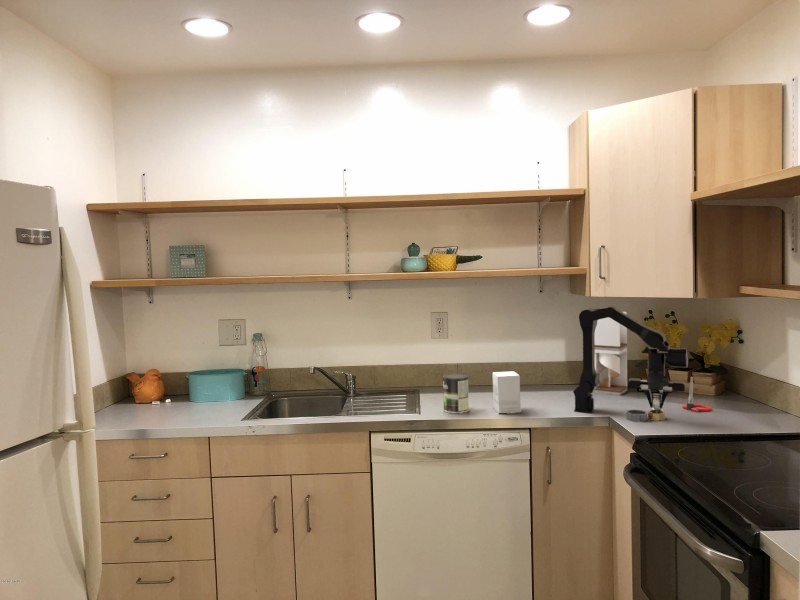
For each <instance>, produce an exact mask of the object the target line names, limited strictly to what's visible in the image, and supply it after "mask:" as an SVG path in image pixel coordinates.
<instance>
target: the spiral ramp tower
mask: <svg viewBox="0 0 800 600" xmlns="http://www.w3.org/2000/svg"><path fill="white" fill-rule="evenodd" d="M622 312H623V313H624V314H626V315H628V312H627V311H622ZM594 335H595V370H596V373H600V377H599V380H600V383H599V384H598V387H597V388H596V389H595V390H593V393H594V392H595V393H596V394H602V393H603V394H604V395H614V396H621V395H623V394H625V393H626V392H627V391H628V328H626V327H624V326H623V325H621V324H619V323H618V322H616V321H614V320H613V319H611V318H609V317H608V318H603V319H599V320H598V321H597V326H596V329H595V333H594Z"/></svg>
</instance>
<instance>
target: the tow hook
mask: <svg viewBox="0 0 800 600" xmlns="http://www.w3.org/2000/svg"><path fill="white" fill-rule="evenodd" d="M693 380H694V376H690V381H689V391H688V394H689V395H688V402H687V403H686V404H682V409H685V410H688V411H690V410H691V412H695V413H699V412H711V411H712V407H711V406H708V405H704V404H695V403H694V397H693V395H694V394H693V393H694V381H693ZM702 407H703V408H702Z"/></svg>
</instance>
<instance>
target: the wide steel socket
mask: <svg viewBox="0 0 800 600" xmlns="http://www.w3.org/2000/svg"><path fill="white" fill-rule="evenodd" d="M625 416H626V417H625V419H626V420H627V419H628V421H630V420H631V422H637V421H643V422H647V421H648V411H645V410H642V409H627V410H626V413H625ZM646 420H647V421H646Z"/></svg>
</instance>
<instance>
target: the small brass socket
mask: <svg viewBox="0 0 800 600" xmlns="http://www.w3.org/2000/svg"><path fill="white" fill-rule="evenodd" d="M648 418H649V420H651V419H652V420H651V421H657V420H661V421H665V420H666V412H665V411H663V410H661V413H652V409H648V411H647V419H648Z"/></svg>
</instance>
